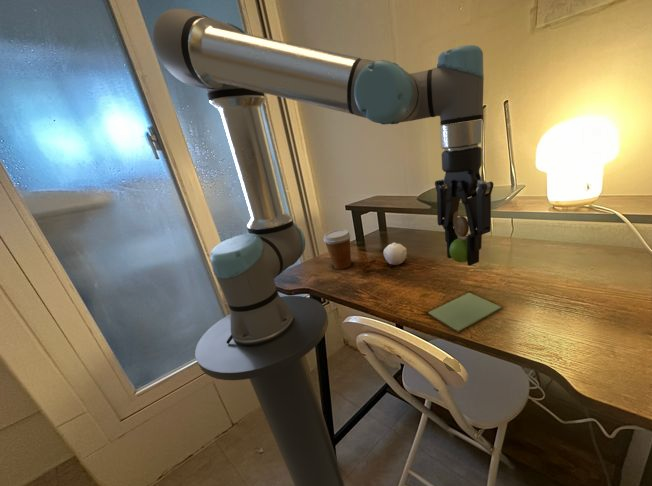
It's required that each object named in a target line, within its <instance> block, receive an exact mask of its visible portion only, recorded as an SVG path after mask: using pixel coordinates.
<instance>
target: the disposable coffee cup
mask: <svg viewBox="0 0 652 486" xmlns="http://www.w3.org/2000/svg"><path fill="white" fill-rule="evenodd" d="M351 236H352V235H351V233H350V232H349V230H347V229H336V230H332V231H328V232H326V233H325V234H324V235H323V242H324V243H325V245H326V248H327V251H328V254H329V257H330V260H331V263H332V265H333V268H334V269H336V270H343V269H346V268H349V267H351V265H352V255H351V254H352V253H351Z"/></svg>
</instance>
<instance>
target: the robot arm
mask: <svg viewBox="0 0 652 486" xmlns="http://www.w3.org/2000/svg"><path fill="white" fill-rule="evenodd" d="M152 34H153V35H152V36H153V38H152V39H153V44H154V45H153V46H154V49H155V51H156V54H157V57H158V58H159V60H160V62H161V64H162V65H163V66H164V68H165V69H166V70H167V71H168V72H169V73H170V74H171V75H172V76H173V77H174V78H176V79H177V80H179V81H180V82H181V83H184V84H186V85H188V86H191V87H195V88H198V89H199V88H200V89H205V92H206V95H207V98H208V102H209V104H210V105H212V106H213V107H214V108H215V109H216V110H218V111H219V114H220V116H221V119H222V123H223V127H224V130H225V133H226V137H227V140H228V144H229V147H230V151H231V154H232V158H233V162H234V165H235V169H236V173H237V176H238V179H239V182H240V185H241V189H242V192H243V196H244V200H245V204H246V207H247V210H248V213H249V217H250V218H249V220H248V222H247V224H246V229H247V232H248V233H243V234H238V235H235V236H233V237H231V238H227V239H225V240H223V241H221V242H219V243H218V244H216V245H215V246H214V247H213V248H212V250H211V252H210V254H209V260H210V263H211V266H212V271H213V272H212V273H213V274H214V276H215V277H216V279H217V283H218V284H219V287H220V289H221V292H222V294H223V296H224V299H225V302H226V304H227V306H228V308H229V314H230V327H231V336H230V337H229V339H228V340H227V342H226V343H228V344H229V343H230V341H231V340H232V338H233V340H234V342H235V343H236V344H238V345H241V346H257V345H262V344H265V343H268V342H271V341H273V340H275V339H277V338H279V337H280V336H282V335H283V334H285V333H286V332H287V331H288V330H289V329H290V328H291V326H292V325H293V322H294V318H293V315H292V312H291V310H290V309H289V307H288V306H287V305H286V304H285V302H284V301H283V300H282V298H281V297H282V296H280V294H279V292H278V288H277V285H276V282H275V279H276V278H277V277H278V276H279V275H281V274H282V273H283V272H285V271H286V270H287V269H288V268H290V267H292V266H293V265H295V264H296V263H297V262H298V261H299V260H300V258H301V257H302V256H303V254H304V252H305V250H306V237H305V234H304V232H303V230H302V229H301V228H300V227H298V224H296V223H294V220H293V217H292V216H291V215H290V214H289V213H287V212H286V211H285V208H284V203H283V202H284V201H283V198H282V194H281V190H280V186H279V182H278V178H277V173H276V169H275V163H274V160H273V155H272V152H271V148H270V144H269V138H268V134H267V130H266V126H265V122H264V117H263V114H262V113H263V112H262V109H261V108H262V106H263V104H264V102H265V101H266V95H265V94H267V95H271V96H275V97H279V98H283V99H287V100H292V101H296V102H300V103H302V104H303V103H304V104H308V105H311V106H317V107H321V108H325V109H330V110H332V111H333V110H334V111H338V112H342V113H346V114H350V115H353V116H357V117H361V118H364V119H368V120H369V121H371V122H373V123H375V124H381V125H398V124H400V123H405V122H411V121H417V120H423V119H427V118H429V119H430V118H436V117H439V119H440V122H439V125H440V148H441V149H444V151H442V152H441V171H443V172H445V174H444V176H443V177H444V178H442V179H438V180H435V181H434V187H435V190H436V210H437V217H436V218H437V225H438V226H440V227H441V226H442V228H443V230H444V240H445V243H446V258H448V259H453V258H452V257H451V256H450V253H449V248H450V245H451V243H452V242H453V241H454V240H456V239H458V236H457V235H456V233H455V230H454V226H453V215H454V213H455V212H458V211H459V206H460V201H461V203H462V204H463V206H464V210H465V214H466V215H465V216H466V219H467V221H468V224H469V234H467V235H466V236H467V266H472V265H475V264H478V263H479V262H480V250H482V246H483V245H482V239H483V238H482V237H483V235H486V234H488V233H490V232H491V231H492V192H493V188H494V182H493V181H488V182H486V181H485V180H483V179H482V177H481V174H480V173H481V172H480V170H481V167H482V166H483V148H482V147H481V146H480V145H481V144H482V143H483V113H484V80H485V79H484V53H483V50H482V48H481V47H480V46H478V45H475V44H467V45H461V46H460V45H459V46H456V47H452V48H451V49H446V50H444V51H442V52H441V53H440V54H439V55H438V58H437V64H436V67H433V68H431V69H427V70H424V71H423V70H422V71H417V72H411V73H409V72H408V71H406V70H405V69H404V68H403V67H402V66H400V65H399V64H397V63H395V62H392V61H389V60H384V59H382V60H371V59H365V58H361V57H358V56H352V55H348V54H343V53H339V52H334V51H329V50H326V49H325V50H324V49H320V48H315V47H310V46H305V45H302V44H301V45H300V44H295V43H291V42H287V41H282V40H277V39H273V38H267V37H263V36H258V35H253V34H250V33H248V32H247V31H245V30H243V29H242V28H240V27H239V26H237V25H234V24H232V23H229V22H227V23H226V22H223V21H221V20H219V19H215V18H213V17H210V16H206V15H204V14H201V13H199V12H197V11H194V10H191V9H188V8H180V7H179V8H177V7H176V8H170V9H168V10H166V11H163V12H162V13H161V14H160V15H159V16H158V17H157V19H156V21H155V23H154V28H153V31H152ZM458 213H459V212H458Z"/></svg>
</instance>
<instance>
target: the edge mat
mask: <svg viewBox="0 0 652 486" xmlns="http://www.w3.org/2000/svg"><path fill="white" fill-rule="evenodd" d="M501 309H502V306H500V305H499V304H496V303H493V302H491V301H489V300H487V299H484V298H482V297H480V296H478V295H476V294H474V293H471V292H467V293H464V294H463V295H461V296H459V297H457V298H454V299H453V300H451V301H448V302H446V303H444V304H442V305H440V306H438V307H436V308H433V309H432V310H429V311H428V312H427V314H428V315H430V316H431V317H432V318H434V319H436V320H438V321H439V322H441V323H443V324H444V325H446V326H447V327H449V328H450V329H452V330H454V331H456V332H457V333H459V332H461V331H463V330H464V329H467V328H468V327H469V326H472V325H473V324H475V323H477V322H479V321H481V320H483V319H485V318H486V317H488V316H490V315H491V314H493V313H496V312H497V311H499V310H501Z"/></svg>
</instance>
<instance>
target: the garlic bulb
mask: <svg viewBox="0 0 652 486" xmlns="http://www.w3.org/2000/svg"><path fill="white" fill-rule="evenodd" d="M382 255H383V257H384V260H385V261H386V262H387V263H388V264H389V265H392V266H398V265H400V264H402V263H404V262H405V261H406V259H407V255H408V250H407V247H405V246H404V245H402V244H401V243H397V242H392V243H390V244H388V245H387V246H386V247H384V249H383V253H382Z"/></svg>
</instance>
